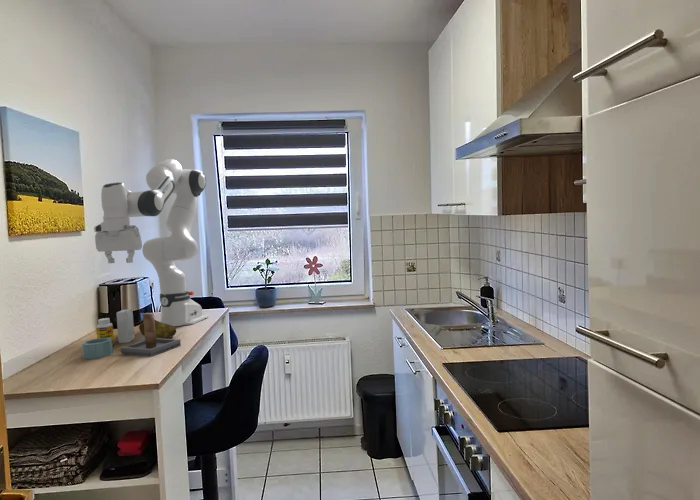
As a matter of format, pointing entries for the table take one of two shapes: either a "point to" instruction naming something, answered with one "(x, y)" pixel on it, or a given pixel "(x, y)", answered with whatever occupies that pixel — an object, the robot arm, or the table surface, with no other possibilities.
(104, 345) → the tube
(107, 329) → the supplement bottle
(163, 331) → the potato
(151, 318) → the dowel
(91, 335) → the table surface
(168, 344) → the tray
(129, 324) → the skincare box
